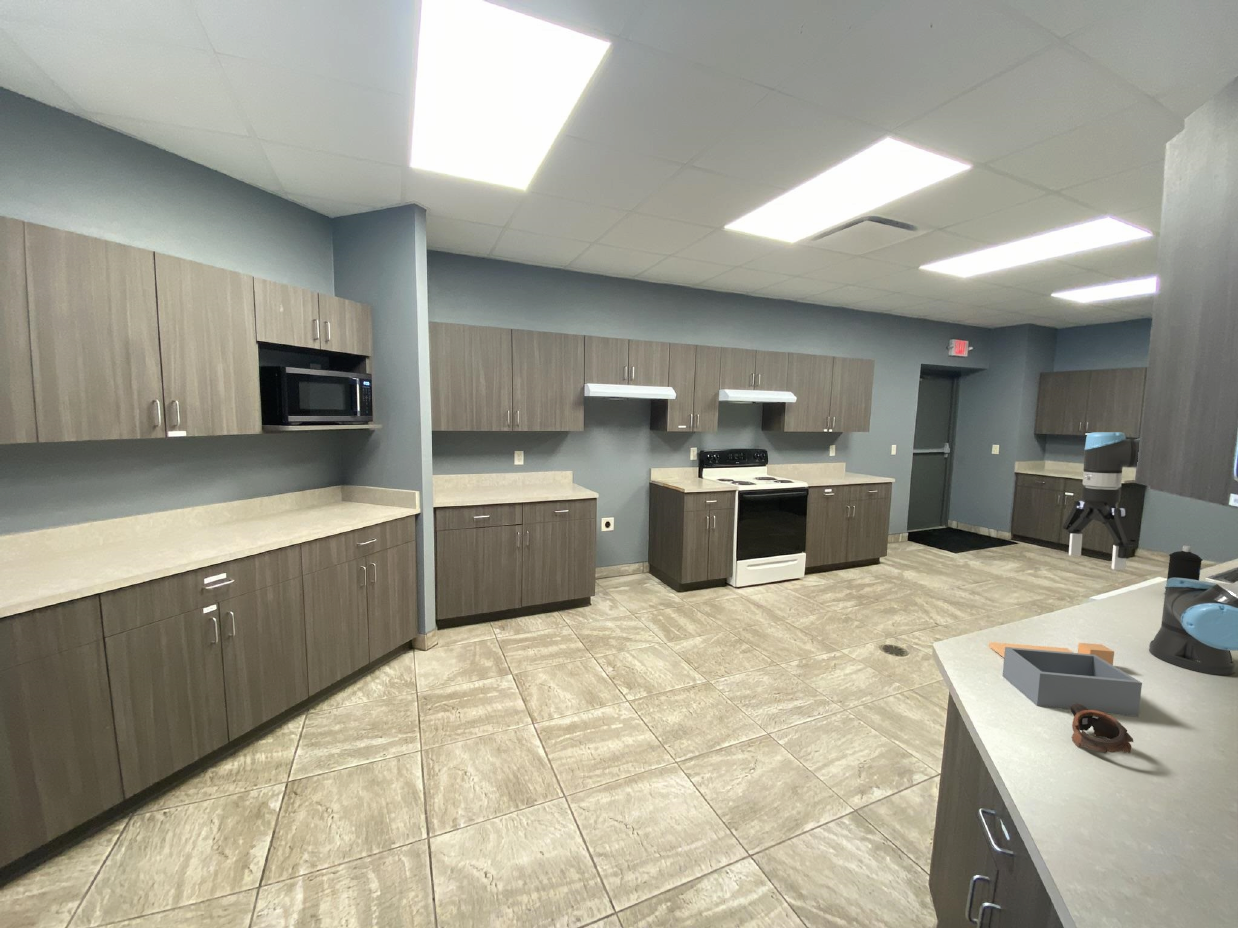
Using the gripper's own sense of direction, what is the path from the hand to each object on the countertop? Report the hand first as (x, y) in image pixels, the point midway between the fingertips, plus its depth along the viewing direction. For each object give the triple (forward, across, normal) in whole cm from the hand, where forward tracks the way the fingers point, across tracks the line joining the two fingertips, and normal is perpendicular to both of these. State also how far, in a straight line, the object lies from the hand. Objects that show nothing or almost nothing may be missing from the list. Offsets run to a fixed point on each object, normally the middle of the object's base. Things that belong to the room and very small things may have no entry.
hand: (1095, 562), depth 131 cm
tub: (+27, +23, -23) cm, 42 cm away
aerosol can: (+28, -54, +76) cm, 97 cm away
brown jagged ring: (+27, +41, -32) cm, 59 cm away
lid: (+27, +6, -14) cm, 31 cm away
